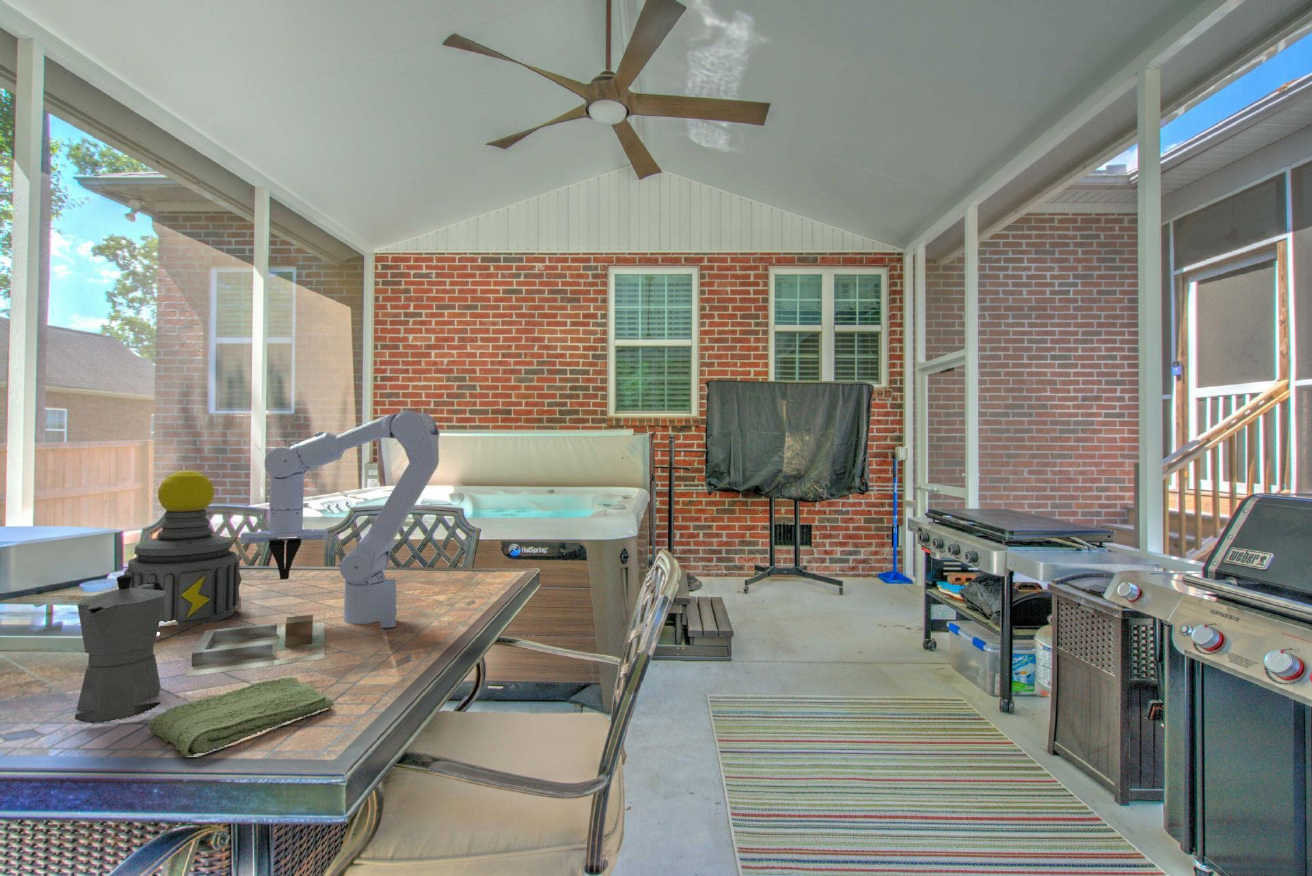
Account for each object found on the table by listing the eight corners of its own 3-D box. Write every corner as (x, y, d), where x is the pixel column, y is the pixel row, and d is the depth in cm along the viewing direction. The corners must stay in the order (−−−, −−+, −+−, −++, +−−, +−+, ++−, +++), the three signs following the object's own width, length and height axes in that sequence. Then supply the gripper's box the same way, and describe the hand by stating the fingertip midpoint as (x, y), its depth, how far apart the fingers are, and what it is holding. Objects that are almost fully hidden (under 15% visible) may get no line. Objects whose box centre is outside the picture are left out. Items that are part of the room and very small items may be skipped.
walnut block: (312, 637, 109) (312, 614, 109) (312, 643, 106) (312, 620, 106) (286, 640, 107) (286, 617, 108) (285, 646, 104) (285, 623, 104)
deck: (323, 630, 118) (324, 612, 118) (324, 667, 99) (324, 646, 99) (209, 643, 110) (209, 623, 110) (185, 686, 90) (186, 663, 90)
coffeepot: (131, 727, 77) (135, 585, 78) (41, 734, 75) (46, 587, 76) (193, 681, 92) (197, 561, 93) (120, 685, 90) (124, 563, 91)
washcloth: (339, 712, 84) (340, 689, 84) (187, 767, 69) (188, 739, 69) (289, 690, 91) (290, 668, 91) (141, 736, 76) (142, 710, 76)
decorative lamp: (112, 619, 123) (116, 469, 123) (223, 601, 137) (227, 467, 137) (132, 639, 110) (137, 473, 111) (252, 618, 125) (256, 471, 125)
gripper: (239, 512, 113) (237, 585, 113) (328, 509, 120) (326, 579, 120) (243, 508, 120) (241, 578, 119) (328, 506, 127) (326, 572, 126)
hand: (284, 578), depth 120 cm, fingers closed
